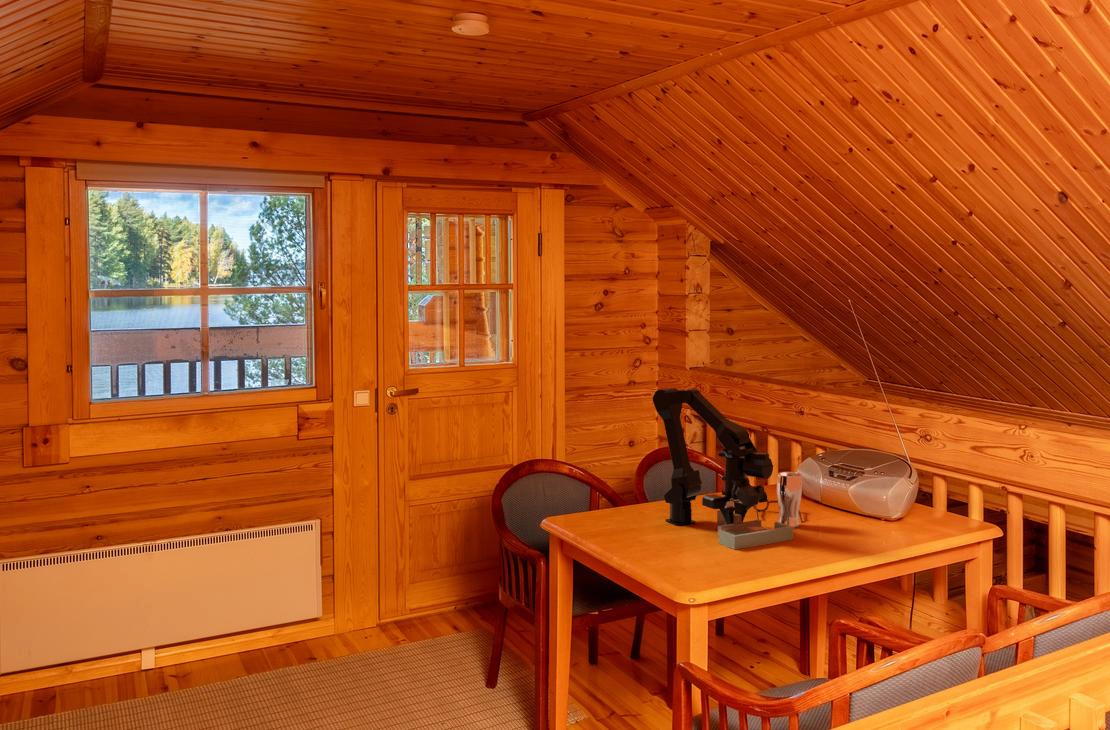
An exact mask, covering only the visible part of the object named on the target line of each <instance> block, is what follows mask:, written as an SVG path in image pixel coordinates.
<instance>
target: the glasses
mask: <svg viewBox="0 0 1110 730" xmlns="http://www.w3.org/2000/svg"><path fill="white" fill-rule="evenodd" d="M772 503H774V504H777V503H778V499H777V500H776V499H775V500H774V499H773V500H769V499H768V498H767V502H766V507H765V508H762V509H758V507H757V505H754V506H753V509H754V510H755V512H756V516H757V517H756V518H757V520H760V517H759V516H760V515H759V512H765V511H767V510H768V509H769V505H770V504H772ZM798 517H799V519H800V523H804V522H803V519H802V515H801V510H799V511H798Z"/></svg>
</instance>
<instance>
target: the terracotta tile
mask: <svg viewBox="0 0 1110 730" xmlns="http://www.w3.org/2000/svg"><path fill="white" fill-rule="evenodd" d="M764 530H768V528H767V527H765V526H762V525H761V526H759V525H755V526H749V527H746V532H747V533H752V532H758V531H764Z"/></svg>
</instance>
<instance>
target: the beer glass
mask: <svg viewBox="0 0 1110 730" xmlns="http://www.w3.org/2000/svg"><path fill="white" fill-rule="evenodd" d="M802 480H803V479H802V474H801V473H800V472H795V471H780V472H778V473H777V480H776V497H777V500H778V511H779V514H778V520H777V522H780V523H783V524H786V525H789V526H792V527H793V529H795V528H797V529H798V528H800V520H799V519H800V517H799V513H798V511H800V505H801V501H802V500H801V499H802V491H803V490H802V489H803V485H802V484H803V483H802Z"/></svg>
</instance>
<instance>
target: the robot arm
mask: <svg viewBox="0 0 1110 730" xmlns="http://www.w3.org/2000/svg"><path fill="white" fill-rule="evenodd" d="M652 403H653V405H654V408H655V411H656V413H657V415H659V416H660V418H661V419H662V422H663V426H664V429H665V435H666V440H667V445H668V447H669V448H668V449H669V453H670V454H669V455H670V459H671V463H672V469H673V470H672V473H671V478H670V485H671V488H670V489H669V490H668V491H667V492H666V493H665V494H664V495H663V497H664V501H665V503H666V504H669V518H665V519H664V520H665V522H667V523H670V524H672V525H675V526H683V525H691V524H695V523H696V520H693V519H692V517H693V515H692V512H693V511H692V510H693V509H692V501H696V499H697V497H698V494H699V493H700V492H701V489H702V484H703V481H702V480H701V477H700V476H701V475H700V470H699V469H694V468H693V467H692V465H691V463H690V458H689V453H688V449H687V444H686V440H685V434H684V431H683V425H682V420H681V414H682V410H683V404H687V405H688V406H689V407H690V408H691V409H692V410H693V411H694V412H695V413H696V414H697V415H698V416H699V417H700V418H701V419H702V420H703V421H704V422H705V423H706V424H707V425H708V426H709V427H710V428H712V429H713V431H714V432H715V435H716V438H717V440H718V441H719V443H720V444H721V446H722V447H723V449H722V450H721V451H720V452H719V453H717V456H718V457H719V458H720V457H721V458H724V475H723V476H721V481H724V490H721V495H718V494H715V493H713V494H706V495H704V496H703V497H702V500H701V502H702V504H701V505H702V506H703V507H706V508H710V509H711V510H712V509H713V510H720V511H721V513H722V515H723V517H724V519H725V521H726V523H727V525H728V524H733V513H736V514H739V515H742V522H744V520H745V517H746V515H747V512H748V511H749V510H750V509H751V508H752V507H753V506H754V505H756V506H758V505H759V503H760V504H761V503H767V499H768V494H767V492H766V491H765V487H764V486H763V485H762V484H759V485H756V486H755V485H753V486H751V485H750V478H751V477H752V478H759V479H766V480H768V479H770V478H771V476H772V474H773V473H774V472H773V471H774V464H773V461H772V459H771V458H770V454H769V453H768V452H767V453H766V452H762V453H761V452H758V450H757V448H756V446H755V445H754V443H753V441H752V440H751V438H750V433H749V431H748V430H747V429H746V428H744V427H742V426H741V425H739V424H738V423H736V422H733V421H731V420H729V419H728V418H726V417H725V416H724V415H723V414H722V412H720V411H719V410H718V409H717V407H716V406H714V405H713V404H712V403H711V401H709V400H708V399H707V398H706V397H705V396H704V395H703V394H702V393H701V391H700V390H699V389H698V388H695V387H694V388H688V389H680V390H679V389H678V388H677V387H667V388H660V389H657V390H656V391H655V392H654V394H653V395H652ZM749 477H750V478H749ZM753 508H754V507H753Z"/></svg>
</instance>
